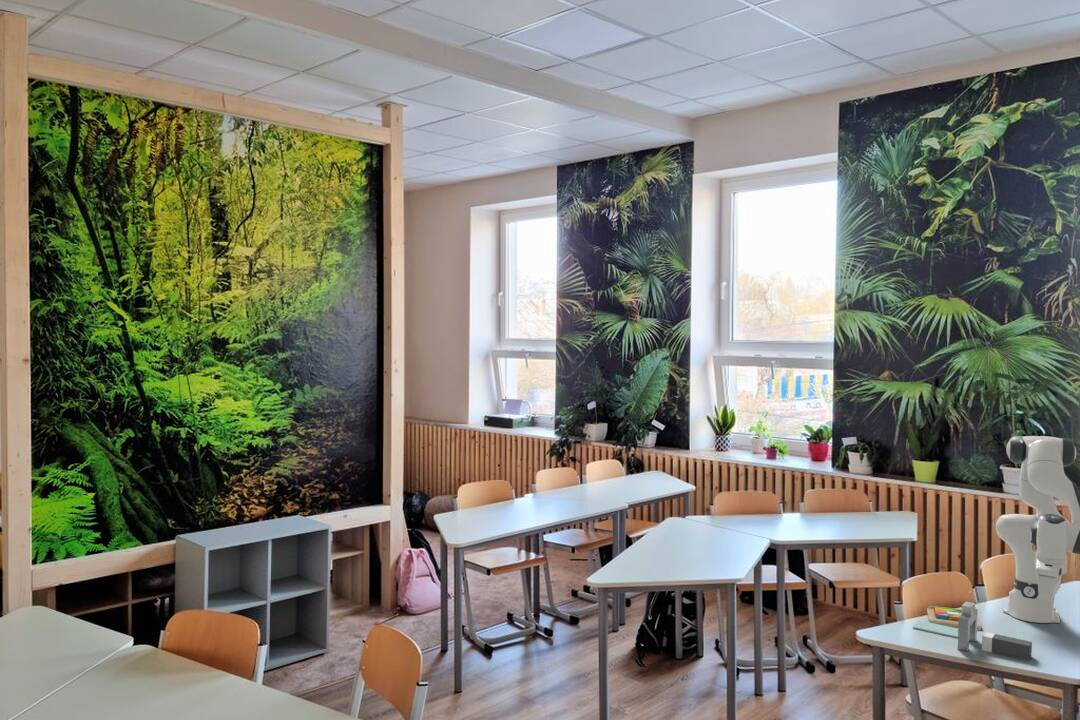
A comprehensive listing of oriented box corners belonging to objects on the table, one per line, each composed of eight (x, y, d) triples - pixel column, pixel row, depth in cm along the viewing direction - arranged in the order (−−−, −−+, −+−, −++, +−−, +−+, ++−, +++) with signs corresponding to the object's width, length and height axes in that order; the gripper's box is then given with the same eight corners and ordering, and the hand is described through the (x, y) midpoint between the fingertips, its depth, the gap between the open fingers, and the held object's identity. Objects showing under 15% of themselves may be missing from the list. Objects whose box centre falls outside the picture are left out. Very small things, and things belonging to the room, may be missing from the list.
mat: (919, 622, 315) (919, 620, 315) (972, 633, 304) (972, 631, 304) (912, 628, 308) (912, 626, 308) (967, 640, 297) (967, 638, 296)
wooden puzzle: (976, 616, 324) (977, 607, 323) (982, 632, 306) (982, 623, 306) (926, 610, 330) (927, 601, 330) (929, 625, 313) (929, 616, 313)
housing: (967, 638, 299) (968, 598, 298) (976, 640, 297) (977, 600, 296) (957, 649, 288) (958, 608, 287) (967, 651, 286) (968, 610, 286)
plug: (984, 646, 291) (985, 631, 291) (1031, 656, 282) (1031, 641, 282) (981, 650, 287) (982, 635, 287) (1028, 660, 279) (1029, 645, 278)
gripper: (1045, 557, 286) (1043, 598, 287) (1034, 569, 270) (1033, 612, 271) (1066, 560, 282) (1065, 601, 283) (1057, 573, 266) (1056, 617, 267)
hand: (1049, 607), depth 277 cm, fingers closed
